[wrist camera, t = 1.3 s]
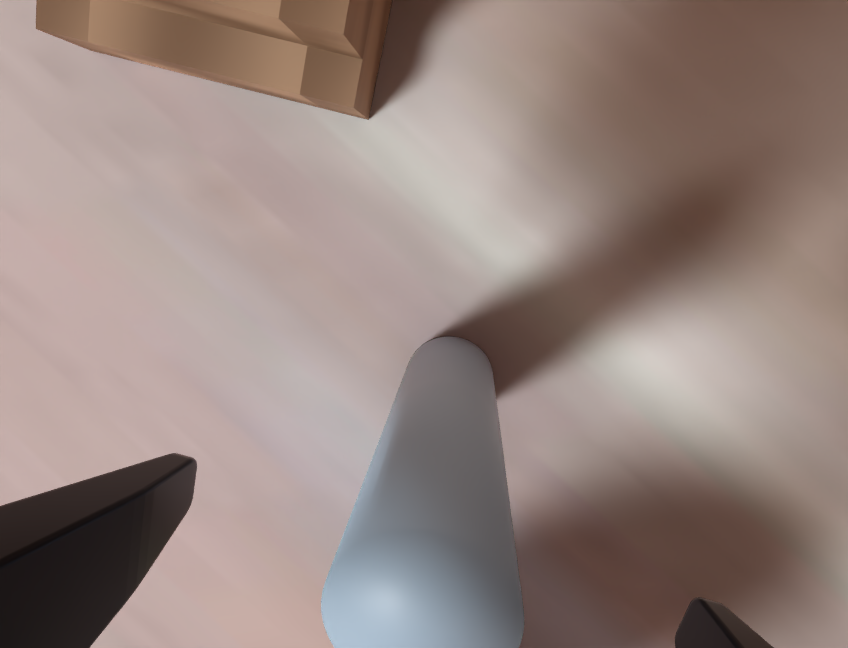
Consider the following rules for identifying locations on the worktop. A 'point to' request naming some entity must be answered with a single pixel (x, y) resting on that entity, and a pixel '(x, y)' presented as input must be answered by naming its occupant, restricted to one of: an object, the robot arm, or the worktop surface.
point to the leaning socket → (240, 42)
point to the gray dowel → (431, 519)
